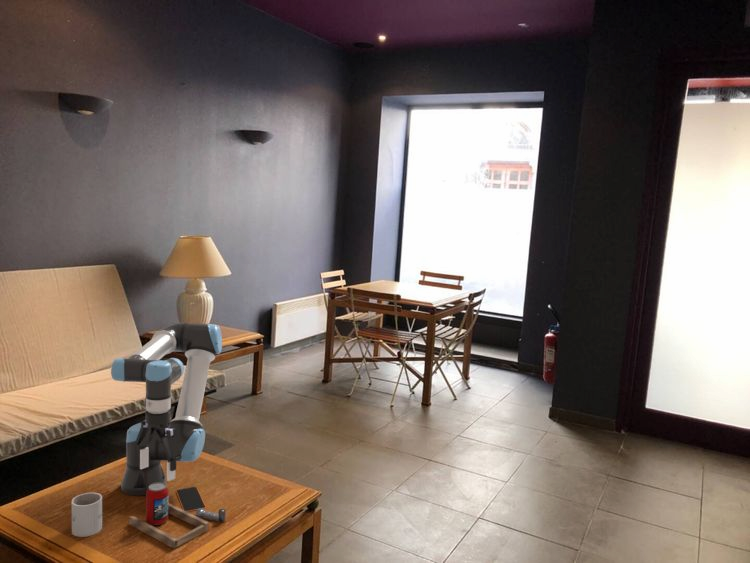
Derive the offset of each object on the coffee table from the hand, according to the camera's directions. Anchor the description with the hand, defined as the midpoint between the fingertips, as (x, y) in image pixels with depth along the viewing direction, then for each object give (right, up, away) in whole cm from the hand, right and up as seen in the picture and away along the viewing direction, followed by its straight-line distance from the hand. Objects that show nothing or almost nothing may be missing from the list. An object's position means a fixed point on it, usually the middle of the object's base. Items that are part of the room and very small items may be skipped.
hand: (157, 473), depth 189 cm
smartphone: (+5, -15, +17) cm, 24 cm away
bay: (+4, -17, -1) cm, 17 cm away
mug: (-21, -16, -3) cm, 26 cm away
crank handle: (+16, -17, +6) cm, 24 cm away
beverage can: (-1, -16, +2) cm, 17 cm away
